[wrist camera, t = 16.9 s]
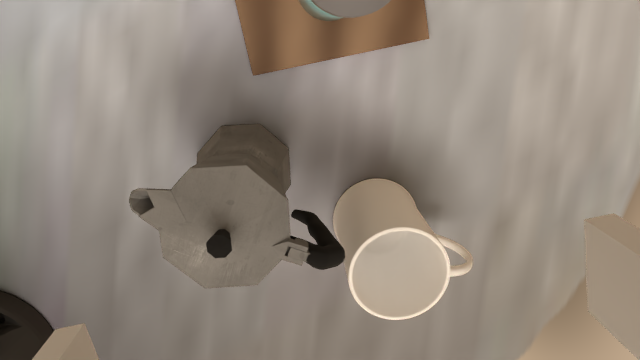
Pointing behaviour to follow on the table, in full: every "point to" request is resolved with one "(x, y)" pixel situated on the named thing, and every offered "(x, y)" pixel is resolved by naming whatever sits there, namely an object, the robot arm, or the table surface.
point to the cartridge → (341, 8)
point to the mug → (392, 251)
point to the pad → (322, 32)
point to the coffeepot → (234, 213)
